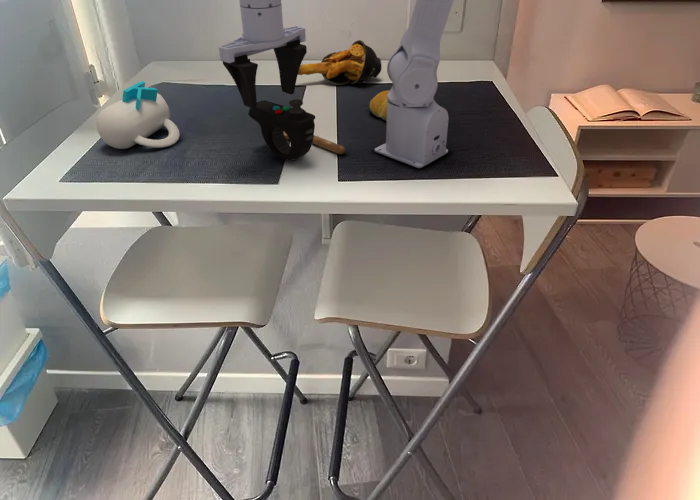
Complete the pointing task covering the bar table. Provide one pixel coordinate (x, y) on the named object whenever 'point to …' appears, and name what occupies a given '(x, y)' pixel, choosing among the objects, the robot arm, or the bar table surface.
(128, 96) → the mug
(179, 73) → the bar table surface
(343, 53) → the fried shrimp in bowl
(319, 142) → the spoon
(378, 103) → the bread roll
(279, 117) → the controller
